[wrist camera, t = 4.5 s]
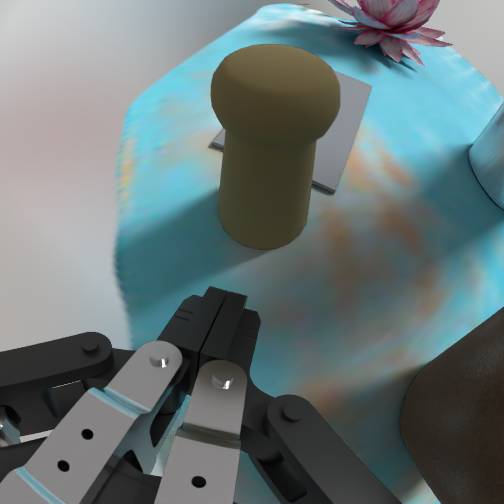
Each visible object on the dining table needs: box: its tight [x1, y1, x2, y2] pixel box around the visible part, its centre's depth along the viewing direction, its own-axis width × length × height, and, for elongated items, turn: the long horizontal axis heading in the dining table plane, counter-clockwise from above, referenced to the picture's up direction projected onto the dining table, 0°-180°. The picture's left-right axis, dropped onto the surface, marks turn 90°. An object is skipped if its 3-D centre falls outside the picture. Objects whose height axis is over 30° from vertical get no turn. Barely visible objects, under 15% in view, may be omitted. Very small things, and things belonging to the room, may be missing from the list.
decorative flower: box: [329, 0, 453, 67], centre depth 24 cm, size 21×21×15 cm
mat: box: [213, 70, 372, 193], centre depth 22 cm, size 18×10×1 cm, turn 154°
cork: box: [211, 44, 340, 249], centre depth 13 cm, size 6×6×11 cm
